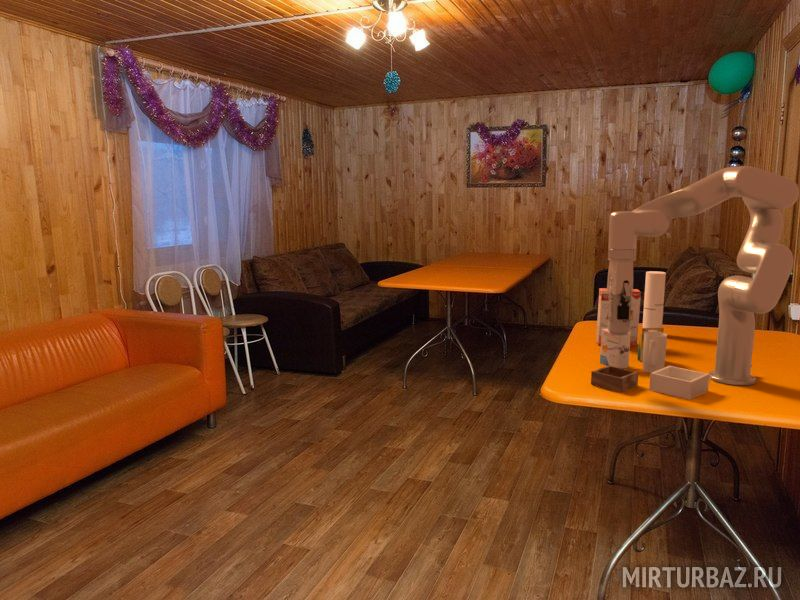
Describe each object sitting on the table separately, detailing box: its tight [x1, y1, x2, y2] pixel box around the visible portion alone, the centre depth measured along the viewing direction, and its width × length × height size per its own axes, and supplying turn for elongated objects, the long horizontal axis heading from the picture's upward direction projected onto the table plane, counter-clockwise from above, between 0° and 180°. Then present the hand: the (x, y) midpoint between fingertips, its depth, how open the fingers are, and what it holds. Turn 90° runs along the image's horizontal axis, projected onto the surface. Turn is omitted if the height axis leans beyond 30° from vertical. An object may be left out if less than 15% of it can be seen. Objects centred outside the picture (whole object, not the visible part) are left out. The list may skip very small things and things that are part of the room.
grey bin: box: [648, 365, 710, 401], centre depth 175 cm, size 12×12×5 cm
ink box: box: [599, 324, 631, 369], centre depth 200 cm, size 8×5×15 cm, turn 25°
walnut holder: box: [590, 365, 639, 393], centre depth 181 cm, size 10×10×4 cm
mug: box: [642, 332, 668, 373], centre depth 193 cm, size 10×7×12 cm, turn 146°
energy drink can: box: [608, 287, 631, 336], centre depth 177 cm, size 6×6×15 cm
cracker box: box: [595, 287, 642, 348], centre depth 227 cm, size 14×6×21 cm, turn 81°
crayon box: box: [637, 327, 665, 363], centre depth 206 cm, size 7×3×12 cm, turn 89°
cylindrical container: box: [641, 270, 667, 332], centre depth 242 cm, size 7×7×25 cm
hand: (619, 316), depth 177 cm, fingers closed on energy drink can, 6 cm apart
